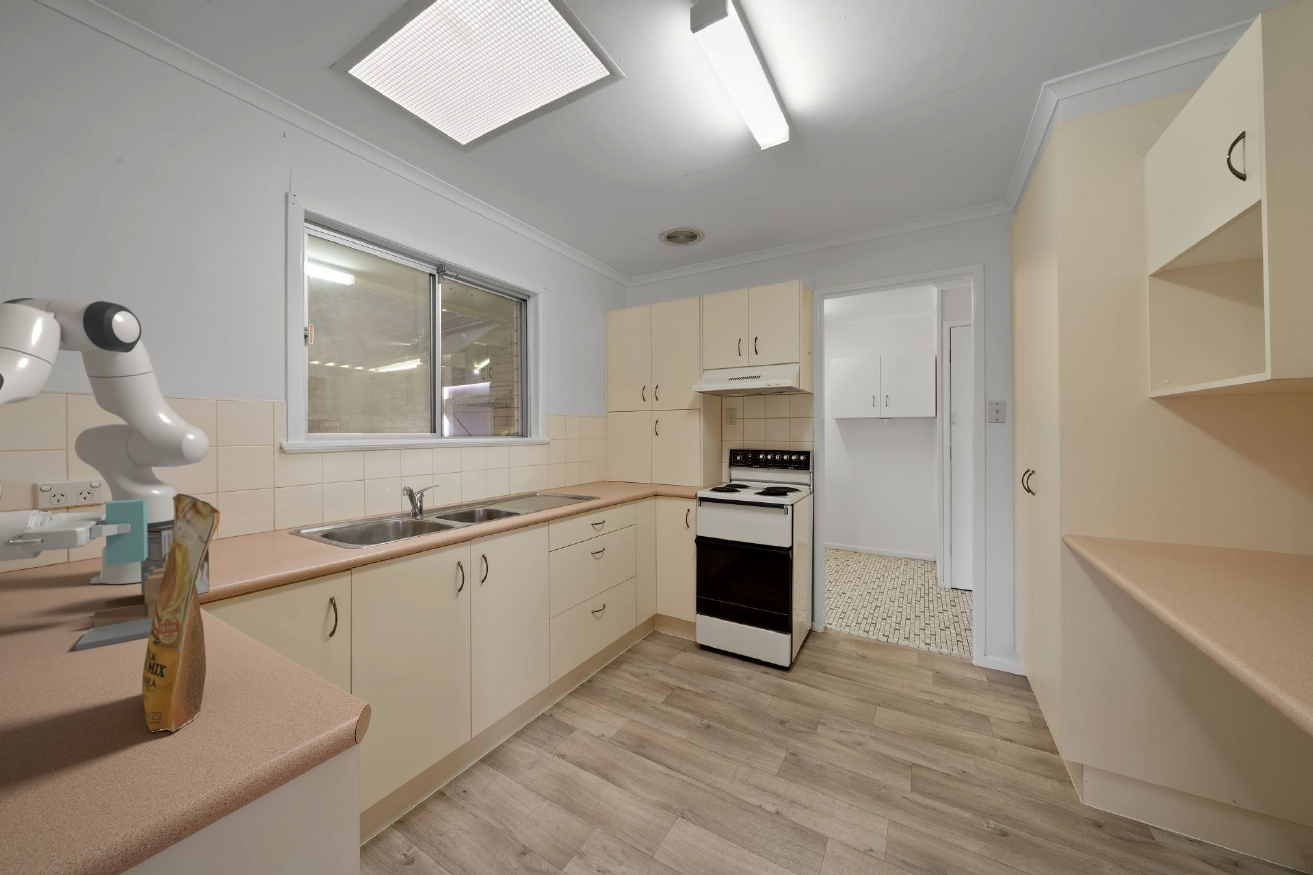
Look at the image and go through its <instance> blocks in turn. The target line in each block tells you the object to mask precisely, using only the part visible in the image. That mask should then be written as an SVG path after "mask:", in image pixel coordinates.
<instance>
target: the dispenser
mask: <svg viewBox="0 0 1313 875" xmlns="http://www.w3.org/2000/svg"><path fill="white" fill-rule="evenodd" d="M164 572H165V568H159V569H155V565H153V566H151V567H150V568H149V569H148V570H147V571H146V573H145V574H144V575H143V581H144V580H145V594H143V595H142V594H136V595H131V596H124V597H117V598H110V599H105V602H104V609H103V610H95V611H94V613H93V614H94V628H95V627H101V626H107V625H113V624H118V623H124V622H130V621H136V620H142V619H148V618H153V616H154V611H155V606H156V602H157V597H158V593H159V589H160V585H161V582H162V578H163V575H164Z"/></svg>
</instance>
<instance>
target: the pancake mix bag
mask: <svg viewBox="0 0 1313 875" xmlns="http://www.w3.org/2000/svg"><path fill="white" fill-rule="evenodd" d="M173 501H174V510H175V511H174V527H173V536H172V543H171V547H170V550H169V555H168V559H167V563H166V568H165V572H164V575H163V578H162V582H161V585H160V589H159V593H158V597H157V602H156V606H155V611H154V616H153V621H152V626H151V630H150V635H149V637H148V642H147V647H146V652H145V658H144V663H143V670H142V671H143V672H142V683H141V684H142V685H141V687H142V688H141V689H142V690H141V691H142V700H143V705H144V706H143V707H144V711H145V721H146V724H147V727H148V729H150V730H149V732H150V733H151V732H152V731H157V730H160V729H167V728H168V729H170V730H171V731H172V732H174V731H175V730H176V729H178V728H179V727H181V726H182V725H183V724H184V723H187V721H189V720H191V719H193V718H194V716H195V715H196V714H197V713H198V712H200V711H201V705H202V700H203V696H204V695H203V694H204V690H205V681H206V674H207V658H206V644H205V641H206V640H205V631H204V622H203V617H202V613H201V605H200V598H199V597H200V596H199V594H198V592H197V588H196V584H195V582H196V578H197V574H198V572H199V569H200V567H201V564H202V562H203V559H204V557H205V554H206V551H207V549H208V547H209V545H211V544H210V543H211V541H212V539H213V537H214V535H215V533H216V531H217V529H218V527H219V525H220V518H221V517H220V516H221V511H219V510H218V508H215V506H214V505H212V504H211V503H210V502H207V501H204V500H200V499H199V498H197V497H195V496H193V495H188V494H184V493H176V496H174V497H173ZM200 713H201V712H200ZM172 732H171V733H172ZM174 733H175V732H174Z"/></svg>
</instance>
